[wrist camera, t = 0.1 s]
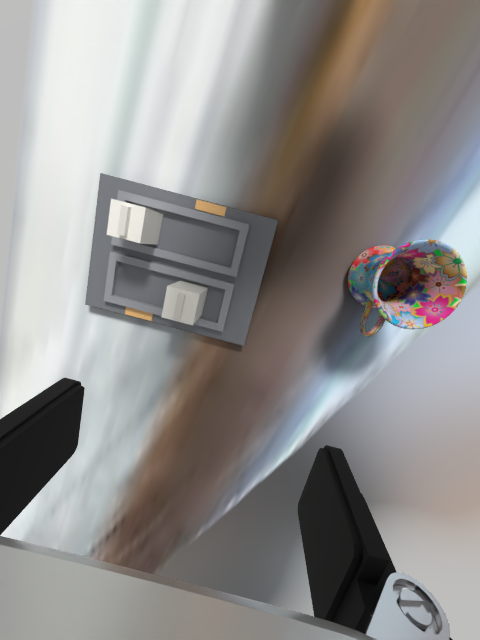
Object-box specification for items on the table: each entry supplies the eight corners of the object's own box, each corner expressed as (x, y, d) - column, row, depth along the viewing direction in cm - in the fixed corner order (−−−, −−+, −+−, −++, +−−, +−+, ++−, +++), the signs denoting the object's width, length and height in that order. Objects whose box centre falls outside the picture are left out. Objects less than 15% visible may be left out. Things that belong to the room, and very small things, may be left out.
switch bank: (106, 176, 38) (97, 171, 35) (277, 221, 38) (278, 219, 36) (91, 302, 42) (82, 305, 40) (244, 342, 42) (243, 347, 40)
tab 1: (133, 206, 37) (107, 197, 30) (163, 214, 37) (142, 206, 30) (129, 237, 38) (102, 234, 31) (157, 244, 38) (137, 243, 31)
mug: (371, 228, 37) (415, 220, 27) (425, 266, 38) (488, 272, 28) (317, 302, 40) (338, 319, 30) (369, 336, 41) (406, 364, 31)
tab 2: (180, 280, 39) (165, 286, 32) (208, 287, 39) (198, 295, 32) (175, 307, 40) (159, 318, 33) (202, 314, 40) (191, 327, 33)
